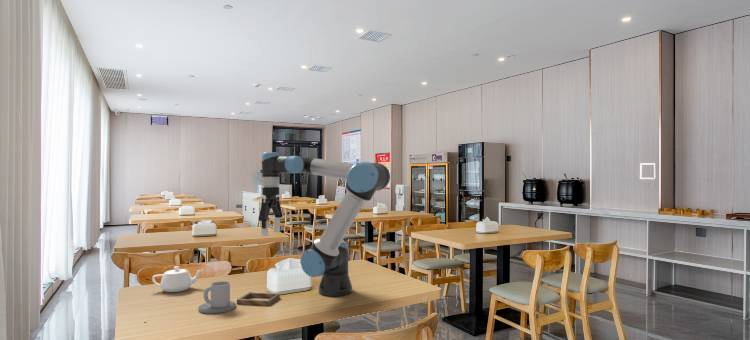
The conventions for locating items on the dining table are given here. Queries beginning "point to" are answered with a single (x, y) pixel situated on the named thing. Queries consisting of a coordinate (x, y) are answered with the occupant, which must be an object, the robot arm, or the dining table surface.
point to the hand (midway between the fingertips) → (271, 233)
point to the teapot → (176, 280)
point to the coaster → (208, 309)
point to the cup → (218, 294)
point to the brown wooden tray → (258, 302)
